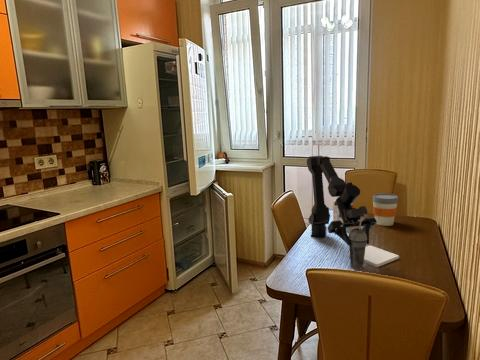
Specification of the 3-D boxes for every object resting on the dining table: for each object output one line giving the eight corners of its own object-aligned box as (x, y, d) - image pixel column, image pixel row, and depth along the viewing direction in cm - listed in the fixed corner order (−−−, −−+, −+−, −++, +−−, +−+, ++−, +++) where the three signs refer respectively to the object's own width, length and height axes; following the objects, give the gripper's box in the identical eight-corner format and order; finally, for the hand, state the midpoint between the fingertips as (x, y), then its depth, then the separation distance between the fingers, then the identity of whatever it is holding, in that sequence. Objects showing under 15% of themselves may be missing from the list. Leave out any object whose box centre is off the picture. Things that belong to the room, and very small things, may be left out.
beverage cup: (344, 263, 139) (345, 215, 135) (361, 262, 139) (363, 214, 135) (351, 271, 132) (352, 221, 128) (369, 270, 132) (371, 220, 128)
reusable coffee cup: (399, 222, 186) (401, 195, 183) (392, 228, 177) (393, 200, 174) (376, 218, 194) (377, 192, 191) (368, 224, 185) (369, 196, 182)
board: (348, 255, 146) (348, 252, 146) (370, 247, 153) (370, 245, 153) (376, 267, 134) (376, 264, 134) (398, 258, 141) (398, 255, 141)
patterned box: (360, 232, 173) (360, 209, 170) (347, 233, 172) (348, 209, 170) (343, 219, 194) (344, 198, 191) (332, 220, 193) (333, 199, 191)
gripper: (331, 201, 132) (344, 238, 124) (375, 197, 136) (391, 233, 127) (322, 215, 142) (333, 250, 133) (363, 211, 145) (377, 245, 136)
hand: (359, 244), depth 132 cm, fingers closed on beverage cup, 7 cm apart
